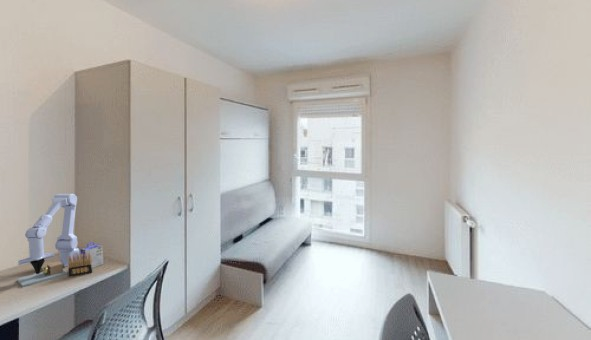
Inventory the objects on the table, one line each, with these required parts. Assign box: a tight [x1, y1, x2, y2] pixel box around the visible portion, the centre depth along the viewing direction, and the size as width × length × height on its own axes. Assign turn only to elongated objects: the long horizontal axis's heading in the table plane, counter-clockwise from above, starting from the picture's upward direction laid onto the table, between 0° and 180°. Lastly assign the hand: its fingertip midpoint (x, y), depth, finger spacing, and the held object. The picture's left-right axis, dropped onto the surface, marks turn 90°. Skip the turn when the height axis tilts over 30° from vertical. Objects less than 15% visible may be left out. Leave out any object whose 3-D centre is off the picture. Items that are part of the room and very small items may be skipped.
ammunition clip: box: [67, 253, 93, 278], centre depth 156 cm, size 11×2×12 cm, turn 121°
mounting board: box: [17, 260, 68, 288], centre depth 151 cm, size 18×12×6 cm, turn 144°
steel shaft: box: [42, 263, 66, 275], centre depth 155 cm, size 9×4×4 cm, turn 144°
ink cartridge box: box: [80, 242, 104, 269], centre depth 166 cm, size 10×6×14 cm, turn 155°
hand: (37, 273), depth 149 cm, fingers closed
